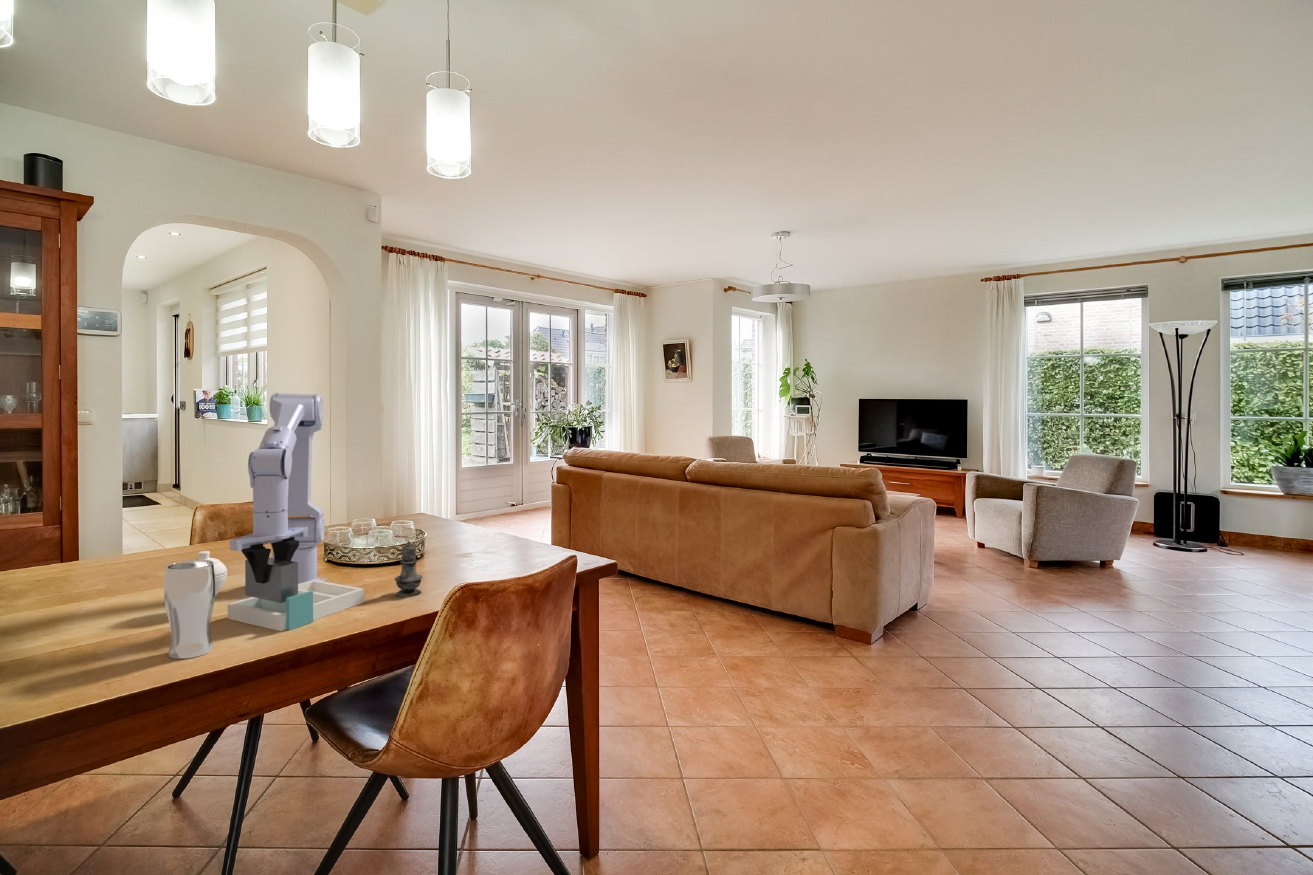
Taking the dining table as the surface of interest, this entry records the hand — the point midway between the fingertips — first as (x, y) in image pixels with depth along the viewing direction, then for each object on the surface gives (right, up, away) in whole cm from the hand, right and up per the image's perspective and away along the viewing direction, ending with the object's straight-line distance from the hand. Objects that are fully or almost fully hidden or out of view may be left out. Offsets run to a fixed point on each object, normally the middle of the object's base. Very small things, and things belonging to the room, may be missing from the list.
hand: (271, 579), depth 122 cm
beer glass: (-4, -9, -16) cm, 19 cm away
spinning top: (-16, -7, +4) cm, 18 cm away
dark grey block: (0, -3, 0) cm, 3 cm away
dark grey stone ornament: (+19, -8, +19) cm, 28 cm away
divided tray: (+2, -8, +6) cm, 10 cm away
